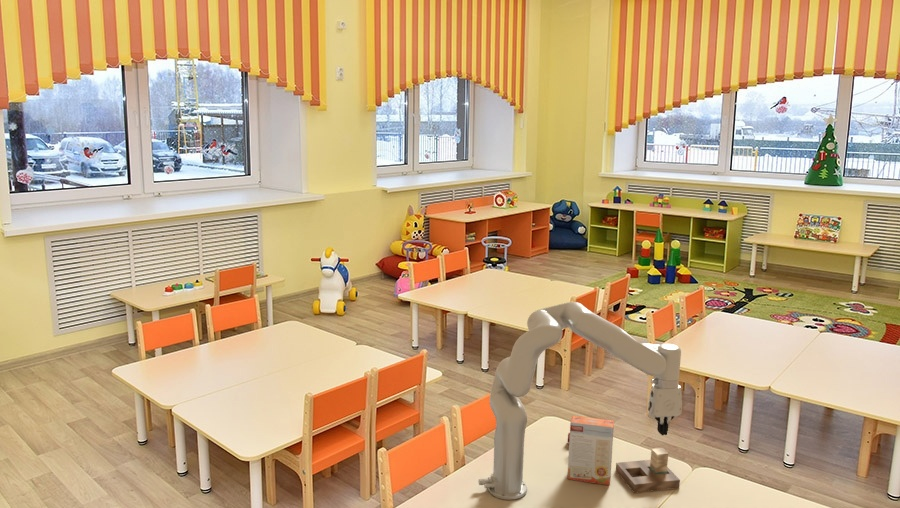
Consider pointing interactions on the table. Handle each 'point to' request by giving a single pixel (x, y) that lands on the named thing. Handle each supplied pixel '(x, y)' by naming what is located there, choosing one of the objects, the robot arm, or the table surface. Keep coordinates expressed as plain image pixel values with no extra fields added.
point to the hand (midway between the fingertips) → (662, 433)
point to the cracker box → (590, 450)
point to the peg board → (645, 477)
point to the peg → (658, 461)
